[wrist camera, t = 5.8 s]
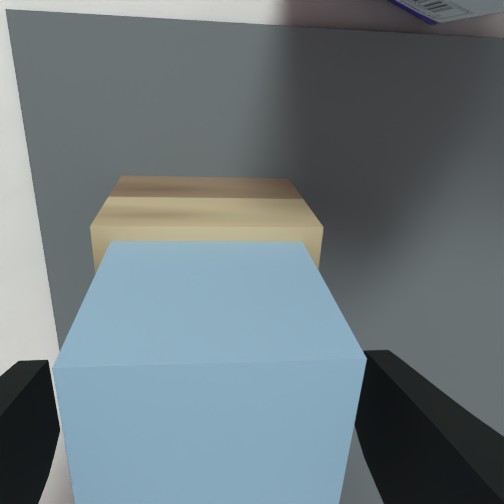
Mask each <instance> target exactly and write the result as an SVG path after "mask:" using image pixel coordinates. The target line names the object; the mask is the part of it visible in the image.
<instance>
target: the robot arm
mask: <svg viewBox="0 0 504 504" xmlns="http://www.w3.org/2000/svg"><path fill="white" fill-rule="evenodd" d="M363 353H364V354H365V356H366V358H367V361H366V366H365V371H364V376H363V381H362V387H361V392H360V397H359V402H358V408H357V413H356V418H355V423H354V425H355V429H356V432H357V436H358V440H359V443H360V446H361V449H362V453H363V456H364V459H365V461H366V463H367V466H368V468H369V471H370V473H371V475H372V478H373V480H374V482H375V485H376V487H377V489H378V492H379V494H380V496H381V499H382V501H383V503H384V504H504V436H503V435H501V434H500V433H498V432H497V431H495V430H494V429H492V428H491V427H490V426H488V425H487V424H485V423H484V422H482V421H481V420H480V419H478V418H477V417H476V416H474V415H473V414H471V413H470V412H469V411H467V410H466V409H465V408H463V407H462V406H461V405H459V404H458V403H457V402H455V401H454V400H453V399H451V398H450V397H449V396H448V395H446V394H445V393H444V392H442V391H441V390H440V389H439V388H437V387H436V386H435V385H433V384H432V383H431V382H430V381H428V380H427V379H426V378H425V377H423V376H422V375H421V374H419V373H418V372H417V371H416V370H414V369H413V368H412V367H411V366H409V365H408V364H407V363H406V362H404V361H403V360H402V359H400V358H399V357H398V356H396V355H395V354H394V353H392V352H391V351H389V350H364V352H363ZM59 433H60V426H59V420H58V415H57V409H56V403H55V397H54V391H53V386H52V380H51V374H50V368H49V362H48V360H30V361H18V362H17V363H16V364H14V365H13V366H12V367H11V368H10V369H8V370H7V371H6V372H5V373H4V374H2V375H1V376H0V504H38V503H39V500H40V498H41V495H42V492H43V490H44V487H45V484H46V482H47V479H48V476H49V473H50V469H51V465H52V461H53V458H54V454H55V450H56V446H57V441H58V437H59Z"/></svg>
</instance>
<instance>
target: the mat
mask: <svg viewBox="0 0 504 504" xmlns="http://www.w3.org/2000/svg"><path fill="white" fill-rule="evenodd" d="M5 10H6V16H7V22H8V29H9V35H10V41H11V47H12V54H13V60H14V66H15V73H16V79H17V85H18V92H19V98H20V104H21V110H22V117H23V123H24V129H25V136H26V142H27V148H28V154H29V161H30V167H31V173H32V180H33V186H34V192H35V199H36V205H37V211H38V217H39V224H40V230H41V236H42V243H43V249H44V255H45V261H46V268H47V274H48V280H49V287H50V293H51V299H52V306H53V312H54V318H55V324H56V331H57V337H58V343H59V350H61V348H62V346H63V344H64V342H65V340H66V337H67V335H68V333H69V331H70V329H71V326H72V324H73V322H74V320H75V318H76V316H77V313H78V311H79V309H80V307H81V305H82V303H83V300H84V298H85V296H86V294H87V292H88V290H89V287H90V285H91V283H92V281H93V279H94V276H95V268H94V258H93V249H92V240H91V231H90V226H91V224H92V222H93V221H94V219H95V217H96V216H97V214H98V213H99V211H100V209H101V208H102V206H103V205H104V203H105V201H106V200H107V198H108V196H109V195H110V193H111V192H112V190H113V188H114V187H115V185H116V183H117V182H118V180H119V179H120V177H121V176H173V177H231V178H289V180H290V181H291V182H292V184H293V185H294V187H295V188H296V189H297V191H298V192H299V194H300V195H301V196H302V198H303V199H304V201H305V202H306V203H307V205H308V206H309V208H310V209H311V210H312V212H313V213H314V215H315V216H316V217H317V219H318V220H319V222H320V223H321V224H322V226H323V227H324V228H323V236H322V244H321V253H320V261H319V269H318V271H319V272H320V274H321V276H322V278H323V280H324V281H325V283H326V285H327V287H328V289H329V291H330V292H331V294H332V296H333V298H334V300H335V302H336V303H337V305H338V307H339V309H340V311H341V312H342V314H343V316H344V318H345V320H346V322H347V323H348V325H349V327H350V329H351V331H352V332H353V334H354V336H355V338H356V340H357V342H358V343H359V345H360V347H361V349H362V351H363V352H364V350H389V351H391V352H392V353H394V354H395V355H396V356H398V357H399V358H400V359H402V360H403V361H404V362H406V363H407V364H408V365H409V366H411V367H412V368H413V369H414V370H416V371H417V372H418V373H419V374H421V375H422V376H423V377H425V378H426V379H427V380H428V381H430V382H431V383H432V384H433V385H435V386H436V387H437V388H439V389H440V390H441V391H442V392H444V393H445V394H446V395H448V396H449V397H450V398H451V399H453V400H454V401H455V402H457V403H458V404H459V405H461V406H462V407H463V408H465V409H466V410H467V411H469V412H470V413H471V414H473V415H474V416H476V417H477V418H478V419H480V420H481V421H482V422H484V423H485V424H487V425H488V426H490V427H491V428H492V429H494V430H495V431H497V432H498V433H500V434H501V435H503V436H504V39H500V38H483V37H467V36H450V35H433V34H416V33H399V32H382V31H365V30H348V29H331V28H314V27H298V26H281V25H264V24H247V23H230V22H213V21H196V20H179V19H162V18H146V17H129V16H112V15H95V14H78V13H61V12H44V11H27V10H10V9H5ZM339 504H384V503H383V501H382V499H381V496H380V494H379V492H378V489H377V487H376V485H375V482H374V480H373V478H372V475H371V473H370V471H369V468H368V466H367V463H366V461H365V459H364V456H363V453H362V449H361V446H360V443H359V440H358V436H357V432H356V429H355V425H354V428H353V434H352V439H351V444H350V449H349V454H348V460H347V465H346V470H345V475H344V480H343V486H342V491H341V496H340V501H339Z"/></svg>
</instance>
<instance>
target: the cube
mask: <svg viewBox="0 0 504 504" xmlns="http://www.w3.org/2000/svg"><path fill="white" fill-rule="evenodd" d="M366 361H367V358H366V356H365V354H364V353H363V351H362V349H361V347H360V345H359V343H358V342H357V340H356V338H355V336H354V334H353V332H352V331H351V329H350V327H349V325H348V323H347V322H346V320H345V318H344V316H343V314H342V312H341V311H340V309H339V307H338V305H337V303H336V302H335V300H334V298H333V296H332V294H331V292H330V291H329V289H328V287H327V285H326V283H325V281H324V280H323V278H322V276H321V274H320V272H319V271H318V269H317V267H316V265H315V263H314V261H313V260H312V258H311V256H310V254H309V252H308V250H307V249H306V247H305V245H304V243H303V242H232V241H111V242H110V244H109V246H108V248H107V250H106V253H105V255H104V257H103V259H102V261H101V263H100V266H99V268H98V270H97V272H96V274H95V276H94V279H93V281H92V283H91V285H90V287H89V290H88V292H87V294H86V296H85V298H84V300H83V303H82V305H81V307H80V309H79V311H78V313H77V316H76V318H75V320H74V322H73V324H72V326H71V329H70V331H69V333H68V335H67V337H66V340H65V342H64V344H63V346H62V348H61V350H60V353H59V355H58V357H57V359H56V361H55V363H54V366H53V374H54V380H55V386H56V392H57V399H58V405H59V411H60V417H61V423H62V429H63V435H64V441H65V447H66V453H67V459H68V465H69V471H70V477H71V484H72V490H73V496H74V502H75V504H339V501H340V496H341V491H342V486H343V480H344V475H345V470H346V465H347V460H348V454H349V449H350V444H351V439H352V434H353V428H354V423H355V418H356V413H357V408H358V402H359V397H360V392H361V387H362V381H363V376H364V371H365V366H366Z"/></svg>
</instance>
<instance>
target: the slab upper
mask: <svg viewBox="0 0 504 504" xmlns="http://www.w3.org/2000/svg"><path fill="white" fill-rule="evenodd" d="M323 228H324V227H323V226H322V224H321V223H320V222H319V220H318V219H317V217H316V216H315V215H314V213H313V212H312V210H311V209H310V208H309V206H308V205H307V203H306V202H305V201H304V199H262V198H177V197H108V198H107V200H106V201H105V203H104V205H103V206H102V208H101V209H100V211H99V213H98V214H97V216H96V217H95V219H94V221H93V222H92V224H91V226H90V231H91V240H92V249H93V258H94V268H95V274H96V272H97V270H98V268H99V266H100V263H101V261H102V259H103V257H104V255H105V253H106V250H107V248H108V246H109V244H110V242H111V241H232V242H303V243H304V245H305V247H306V249H307V250H308V252H309V254H310V256H311V258H312V260H313V261H314V263H315V265H316V267H317V269H319V261H320V253H321V244H322V236H323Z"/></svg>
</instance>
